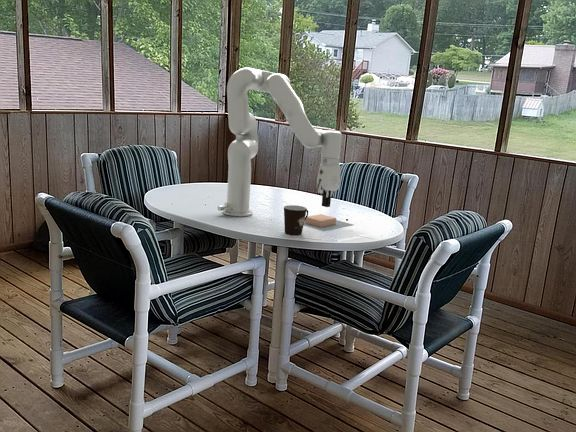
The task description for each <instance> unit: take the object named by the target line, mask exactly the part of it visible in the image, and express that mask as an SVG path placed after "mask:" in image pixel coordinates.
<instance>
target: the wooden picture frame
mask: <svg viewBox="0 0 576 432" xmlns="http://www.w3.org/2000/svg"><path fill="white" fill-rule="evenodd" d="M336 220H337V218H336V217H334V216H333V217H332V216H330V215H326V214H321V213H319V214H315V215H308V216H307V218H306V220H305V223H308V224H311V225H314V226H318V227H323V226H328V225H333V224H336Z"/></svg>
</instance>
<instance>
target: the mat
mask: <svg viewBox="0 0 576 432" xmlns="http://www.w3.org/2000/svg"><path fill="white" fill-rule="evenodd" d="M352 226H354V224H353V223H349V222H346V221H341V220H338V219H336V224H333V225H328V226H323V227H318V226H314V225H311V224H308V223H305V221H304V225H303V227H308V228H310V229H313V230H314V229H315V230H317V231H320V232H327V231H328V232H329V231H333V230H337V229H343V228H347V227H352Z"/></svg>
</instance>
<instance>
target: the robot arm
mask: <svg viewBox="0 0 576 432" xmlns="http://www.w3.org/2000/svg"><path fill="white" fill-rule="evenodd" d="M249 90H252V91H253V90H254V91H258V92H263V93H268V94H269V95H270V96H271V97H272V99H273V100H274V102H275V103H276V104H277V106H278V107H279V109H280V110H281V112H282V113H283V116H284V117H285V120H286V121H287V123H288V124H289V127H290V128H291V130H292V132H293V133H294V135H295V136H296V138H297V139H298V141H299V142H300V143H301V145H302V146H304V147H305V148H307V149H314V148H315V149H316V148H317V147H321V153H320V155H321V156H320V164H319V168H318V172H317V176H316V177H317V178H316V189H317V193H318V194H320V195H321V206H322V207H325V208H331V201H332V197H333V193H335V192H337V190H339V189H340V187H341V165H340V159H341V151H342V150H341V149H342V140H343V139H342V138H343V135H342V132H341V131H338V130H332V129H331V130H324V129H321V128H315V127H314V126H313V125H312V123H311V122H310V120H309V118H308V117H307V115H306V112H305V109H304V108H305V107H304V105H303V102H302V101H301V99H300V98H299V96H298V95H297V93H296V92H295V90H294V89H293V87H292V86H291V80H290V78H289V77H288V76H287V75H286V74H283V73H279V72H277V73H276V72H273V71H272V72H271V71H267V70H262V69H258V68H254V67H242V68H240V69H238V70H236V71H235V72H233V73H232V75H231V76H230V77H229V79H228V81H227V85H226V97H227V112H228V113H227V115H228V116H227V117H228V128H229V130H230V133H232V134H234V135H235V139H234V140H233V141H232V142H231V143H230V144H229V146H228V149H227V160H228V161H227V163H228V164H227V165H228V171H227V173H228V174H227V192H226V193H227V194H226V202H224V205H218V206H217V210H218V211H219V212H220V211H221V212H222V214H223V215H227V216H231V217H249V216H252V215H253V211H252V210H251V209H250V199H251V198H250V197H251V183H252V182H251V181H252V180H251V179H252V159H253V158H254V157H255V156H256V155H257V154H258V151H259V137H258V136H259V135H258V123H257V119H256V117H255V116H254V114H253V113H252V112H250V107H249V106H250V105H249V103H250V102H249V97H248V92H249Z"/></svg>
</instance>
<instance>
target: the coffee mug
mask: <svg viewBox="0 0 576 432" xmlns="http://www.w3.org/2000/svg"><path fill="white" fill-rule="evenodd" d="M307 216H309V210H308V208H307V207H305V206H302V205H296V204H295V205H293V204H291V205H289V204H287V205H284V206H283V217H284V218H283V220H284V221H283V222H284V234H285V235H287V236H291V237H292V236H294V237H299V236H302V234H303V229H304V221H305V220H306V218H307Z"/></svg>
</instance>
